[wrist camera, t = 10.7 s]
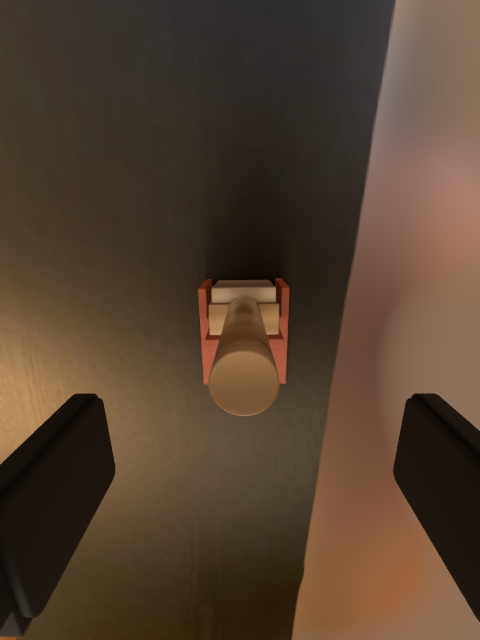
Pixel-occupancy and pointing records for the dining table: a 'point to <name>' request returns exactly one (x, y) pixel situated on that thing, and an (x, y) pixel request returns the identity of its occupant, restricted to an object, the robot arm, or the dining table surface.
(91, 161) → the dining table surface
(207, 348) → the brush stand
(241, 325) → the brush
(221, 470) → the dining table surface
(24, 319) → the dining table surface
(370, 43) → the dining table surface
